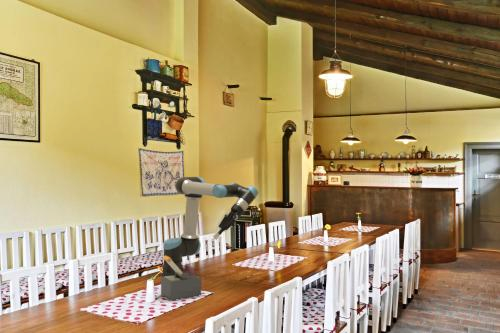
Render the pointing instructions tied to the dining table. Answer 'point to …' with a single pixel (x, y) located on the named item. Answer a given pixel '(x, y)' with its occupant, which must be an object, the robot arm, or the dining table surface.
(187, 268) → the vegetable
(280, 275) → the dining table surface
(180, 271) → the lever
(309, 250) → the dining table surface
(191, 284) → the box
